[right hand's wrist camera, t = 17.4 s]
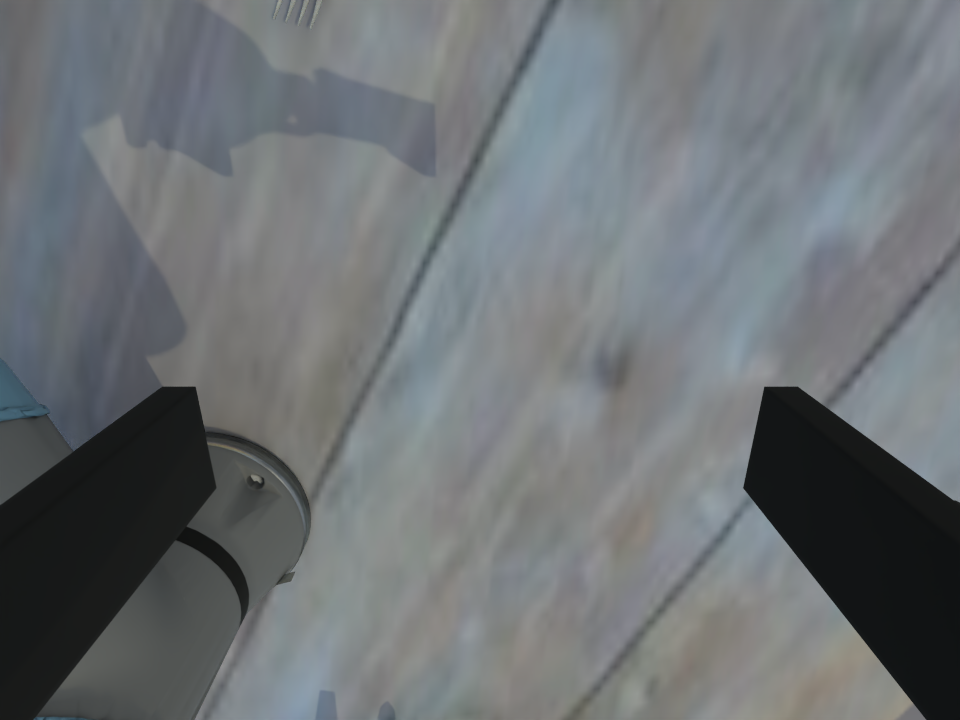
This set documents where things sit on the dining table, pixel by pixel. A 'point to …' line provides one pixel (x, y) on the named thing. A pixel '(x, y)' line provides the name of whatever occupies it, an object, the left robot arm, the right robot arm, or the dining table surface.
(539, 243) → the dining table surface
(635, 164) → the dining table surface
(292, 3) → the fork
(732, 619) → the dining table surface
